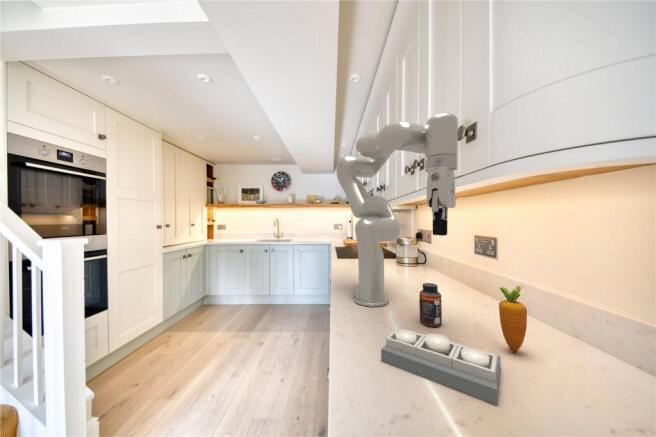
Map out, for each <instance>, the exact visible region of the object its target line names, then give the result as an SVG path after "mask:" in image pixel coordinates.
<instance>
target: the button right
mask: <svg viewBox="0 0 656 437" xmlns="http://www.w3.org/2000/svg"><path fill="white" fill-rule="evenodd" d="M484 351H485V350H482V349H479V348H475V347H470V346H467V347H466V348H463V349H462V350H461V360H462V361H466V362H469V363H472V364H475V365H478V366H482V367H485V368H488V369H489V356H488V354H487V353H485V352H486V351H485V352H484Z"/></svg>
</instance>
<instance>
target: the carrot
mask: <svg viewBox="0 0 656 437" xmlns="http://www.w3.org/2000/svg"><path fill="white" fill-rule="evenodd" d="M521 289H522V287H521V286H520V285H516V287H515V288H513V289H512V291H510V292H509V290H508V288H507V287H505V286H504V287H503V286H500V287H499V290H500V291H501V293H502V294H503V296H504V297H505V300H501V301H499V303H498V309H499V310H498V311H499V312H498V314H499V323H500V326H501V331H502V334H503V339H504V340H505V342H506V344H507V347H508V348H509V350H510V351H511V353H513V354H515V353H517V352H518V351H519V350H520V348H521V347H522V345H523V343H524V341H525V337H526V333H527V332H526V331H527V327H528V326H527V324H528V310H527V307H526V305H524V303H522V302H521V301H518V299H519V297H520V296H521V294H520V292H521Z"/></svg>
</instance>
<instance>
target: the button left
mask: <svg viewBox="0 0 656 437" xmlns="http://www.w3.org/2000/svg"><path fill="white" fill-rule="evenodd" d="M414 332H415V331H413V330H410V329H404V328H400V330H397V331H396V332H395V338H396V340H398V341H401V342H405V343H408V344H411V345H414V344H415V343H416V342H417V340H416V333H417V332H416V333H414Z"/></svg>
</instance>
